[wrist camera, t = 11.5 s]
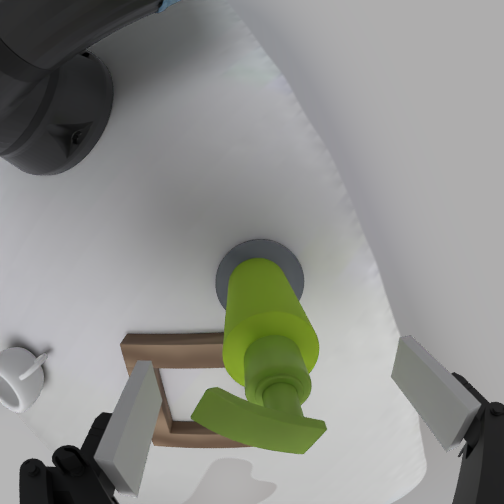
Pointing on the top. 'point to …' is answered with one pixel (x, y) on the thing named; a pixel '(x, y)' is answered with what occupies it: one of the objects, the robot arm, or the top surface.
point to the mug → (20, 378)
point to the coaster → (259, 250)
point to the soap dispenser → (264, 364)
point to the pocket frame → (178, 356)
